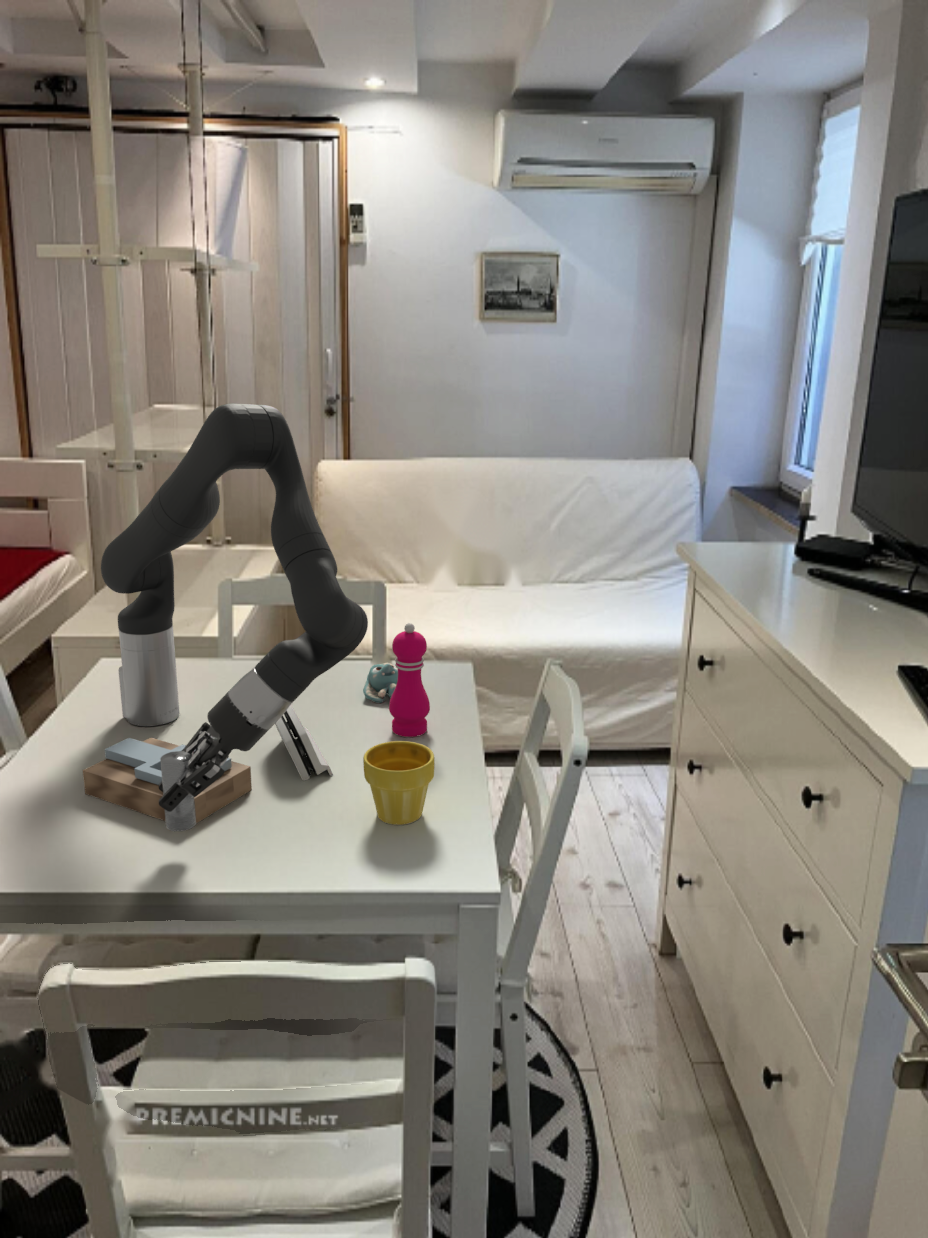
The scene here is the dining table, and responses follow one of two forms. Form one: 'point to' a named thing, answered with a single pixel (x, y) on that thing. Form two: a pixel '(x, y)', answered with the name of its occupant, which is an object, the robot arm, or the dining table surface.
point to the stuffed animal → (380, 682)
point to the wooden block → (143, 796)
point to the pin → (171, 772)
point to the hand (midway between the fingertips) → (164, 798)
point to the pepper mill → (409, 685)
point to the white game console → (301, 745)
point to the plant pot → (399, 779)
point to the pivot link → (144, 758)
